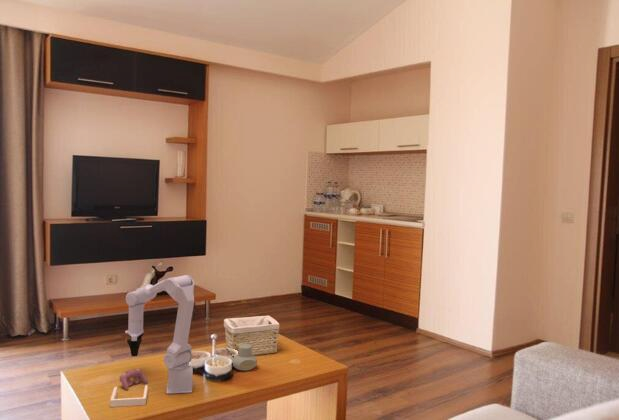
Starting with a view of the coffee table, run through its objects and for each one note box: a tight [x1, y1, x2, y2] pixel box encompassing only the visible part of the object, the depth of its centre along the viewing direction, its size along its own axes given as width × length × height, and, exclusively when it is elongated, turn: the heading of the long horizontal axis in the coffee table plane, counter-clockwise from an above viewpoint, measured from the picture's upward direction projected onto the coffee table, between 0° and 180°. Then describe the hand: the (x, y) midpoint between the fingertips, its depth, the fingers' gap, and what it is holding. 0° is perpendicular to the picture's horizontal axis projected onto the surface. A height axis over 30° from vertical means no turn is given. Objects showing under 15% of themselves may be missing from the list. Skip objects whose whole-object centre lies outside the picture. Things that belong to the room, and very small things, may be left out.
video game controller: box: [119, 368, 148, 391], centre depth 205 cm, size 10×5×7 cm, turn 141°
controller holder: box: [109, 384, 149, 408], centre depth 192 cm, size 12×12×2 cm
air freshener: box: [231, 344, 258, 372], centre depth 227 cm, size 11×8×10 cm
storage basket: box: [223, 315, 280, 356], centre depth 250 cm, size 24×16×15 cm
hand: (135, 352), depth 214 cm, fingers open, 7 cm apart
